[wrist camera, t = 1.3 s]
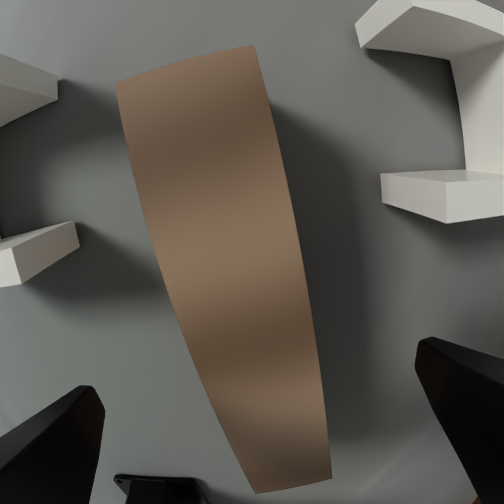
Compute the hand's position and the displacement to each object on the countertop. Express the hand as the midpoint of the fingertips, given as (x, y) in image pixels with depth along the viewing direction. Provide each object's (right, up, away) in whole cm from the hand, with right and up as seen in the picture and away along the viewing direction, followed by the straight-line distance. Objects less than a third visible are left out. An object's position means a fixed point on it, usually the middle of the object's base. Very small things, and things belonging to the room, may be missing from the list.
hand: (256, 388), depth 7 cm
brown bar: (0, +2, +6) cm, 6 cm away
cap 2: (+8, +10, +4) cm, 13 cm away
